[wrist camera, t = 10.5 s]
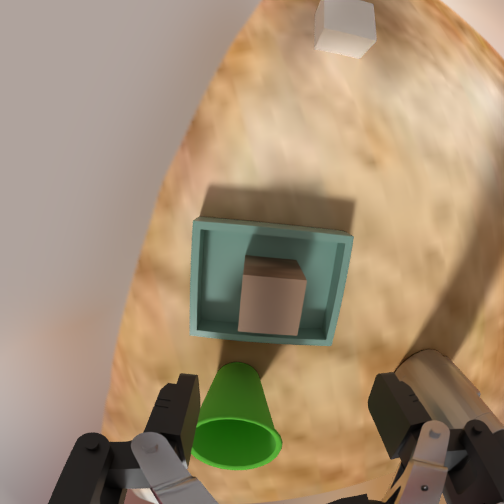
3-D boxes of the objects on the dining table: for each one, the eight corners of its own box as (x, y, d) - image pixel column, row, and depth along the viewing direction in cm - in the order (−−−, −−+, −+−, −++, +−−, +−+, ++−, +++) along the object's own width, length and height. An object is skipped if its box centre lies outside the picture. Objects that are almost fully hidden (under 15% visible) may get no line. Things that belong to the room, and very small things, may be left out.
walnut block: (296, 259, 28) (307, 280, 22) (289, 306, 29) (297, 335, 23) (245, 255, 28) (242, 274, 22) (240, 302, 29) (237, 331, 23)
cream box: (358, 24, 22) (373, 4, 17) (359, 59, 24) (376, 41, 19) (314, 14, 22) (324, -9, 17) (313, 49, 23) (324, 28, 19)
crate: (344, 230, 28) (353, 236, 25) (325, 331, 31) (331, 345, 28) (199, 216, 28) (193, 220, 25) (195, 321, 30) (189, 335, 28)
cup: (254, 335, 31) (254, 404, 20) (287, 389, 33) (296, 457, 22) (186, 362, 32) (164, 429, 21) (224, 411, 34) (216, 476, 23)
